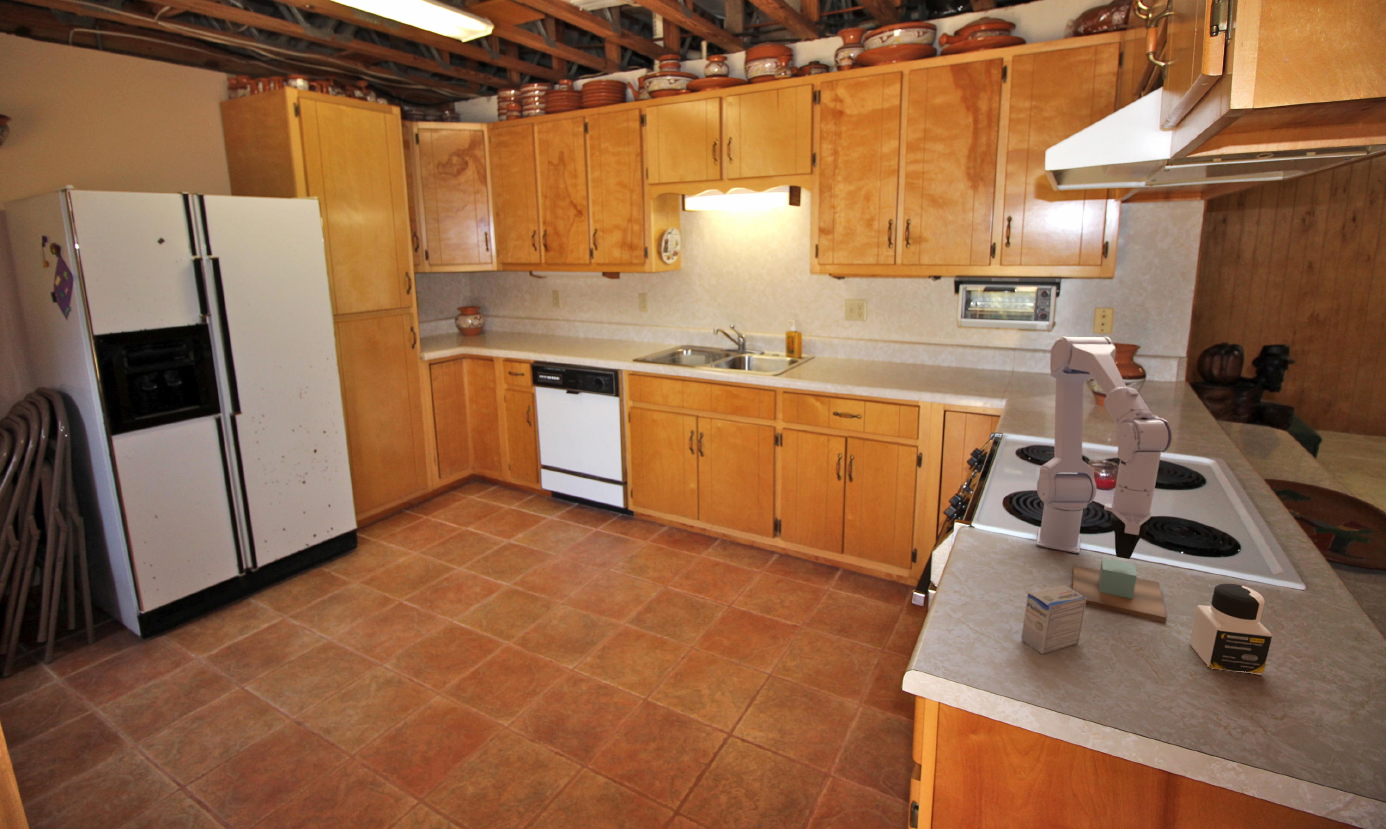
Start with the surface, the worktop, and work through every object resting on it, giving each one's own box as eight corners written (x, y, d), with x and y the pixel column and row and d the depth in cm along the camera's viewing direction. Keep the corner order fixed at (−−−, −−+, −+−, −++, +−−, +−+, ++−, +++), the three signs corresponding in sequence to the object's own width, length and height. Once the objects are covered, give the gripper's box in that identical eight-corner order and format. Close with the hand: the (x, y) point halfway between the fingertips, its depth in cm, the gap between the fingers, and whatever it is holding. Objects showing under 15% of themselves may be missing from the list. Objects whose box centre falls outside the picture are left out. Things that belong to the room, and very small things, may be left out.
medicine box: (1056, 630, 115) (1063, 583, 113) (1079, 645, 111) (1087, 596, 109) (1020, 640, 112) (1026, 592, 110) (1042, 655, 108) (1050, 606, 106)
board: (1073, 569, 135) (1073, 565, 135) (1157, 586, 129) (1158, 581, 129) (1072, 601, 124) (1072, 597, 123) (1165, 622, 117) (1166, 617, 117)
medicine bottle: (1208, 669, 104) (1224, 598, 101) (1188, 643, 111) (1202, 576, 108) (1263, 676, 103) (1281, 604, 100) (1239, 649, 110) (1255, 581, 106)
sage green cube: (1098, 579, 130) (1102, 557, 128) (1130, 586, 127) (1134, 563, 126) (1098, 591, 125) (1102, 569, 124) (1132, 598, 123) (1136, 575, 122)
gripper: (1107, 470, 129) (1096, 536, 132) (1109, 494, 117) (1097, 567, 120) (1152, 476, 126) (1139, 544, 129) (1159, 502, 113) (1145, 577, 117)
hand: (1122, 556), depth 124 cm, fingers closed
